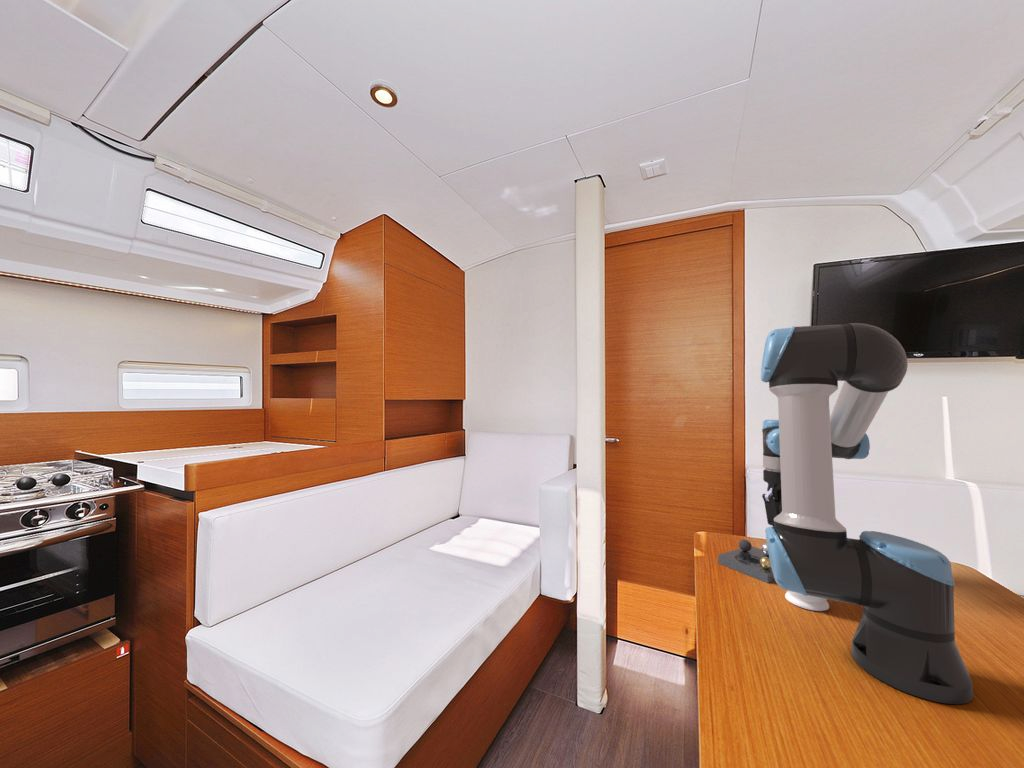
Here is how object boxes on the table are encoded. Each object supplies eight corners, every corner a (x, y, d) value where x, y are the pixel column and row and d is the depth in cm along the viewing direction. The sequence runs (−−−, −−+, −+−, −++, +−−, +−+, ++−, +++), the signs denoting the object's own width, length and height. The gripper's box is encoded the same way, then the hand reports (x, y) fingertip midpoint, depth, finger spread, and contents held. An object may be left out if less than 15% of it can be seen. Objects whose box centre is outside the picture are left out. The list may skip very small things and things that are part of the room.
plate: (767, 583, 103) (767, 573, 103) (718, 563, 115) (718, 554, 115) (799, 571, 110) (799, 562, 110) (750, 553, 123) (750, 545, 123)
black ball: (747, 554, 116) (747, 542, 116) (736, 550, 119) (736, 538, 119) (754, 552, 117) (753, 540, 118) (743, 548, 120) (742, 537, 121)
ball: (770, 558, 113) (770, 546, 113) (758, 554, 116) (758, 542, 116) (777, 556, 114) (777, 544, 115) (765, 552, 117) (765, 540, 118)
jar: (815, 593, 98) (814, 533, 98) (846, 616, 87) (845, 548, 88) (771, 590, 99) (770, 531, 99) (796, 613, 88) (795, 546, 89)
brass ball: (768, 571, 104) (768, 560, 104) (757, 567, 107) (757, 556, 107) (775, 569, 105) (774, 558, 106) (763, 565, 108) (763, 554, 108)
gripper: (778, 473, 112) (780, 556, 111) (802, 470, 118) (804, 548, 117) (752, 469, 119) (754, 547, 118) (776, 466, 125) (778, 540, 124)
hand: (779, 547), depth 118 cm, fingers closed
